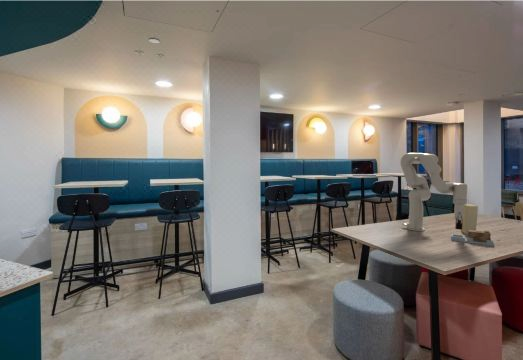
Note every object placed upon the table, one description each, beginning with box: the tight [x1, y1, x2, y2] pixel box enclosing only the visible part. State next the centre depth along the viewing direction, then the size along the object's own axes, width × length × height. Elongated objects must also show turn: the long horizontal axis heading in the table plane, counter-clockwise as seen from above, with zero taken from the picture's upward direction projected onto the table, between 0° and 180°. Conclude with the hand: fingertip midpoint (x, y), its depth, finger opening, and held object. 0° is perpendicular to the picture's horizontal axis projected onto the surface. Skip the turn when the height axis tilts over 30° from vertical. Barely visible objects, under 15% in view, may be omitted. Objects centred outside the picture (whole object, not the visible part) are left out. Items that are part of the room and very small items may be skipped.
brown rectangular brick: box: [454, 218, 463, 231], centre depth 189 cm, size 4×4×7 cm
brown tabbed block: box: [467, 229, 491, 242], centre depth 184 cm, size 12×5×7 cm, turn 57°
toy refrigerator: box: [460, 203, 479, 235], centre depth 206 cm, size 8×7×21 cm
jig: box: [450, 233, 495, 247], centre depth 186 cm, size 22×9×3 cm, turn 57°
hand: (458, 228), depth 190 cm, fingers closed on brown rectangular brick, 4 cm apart
